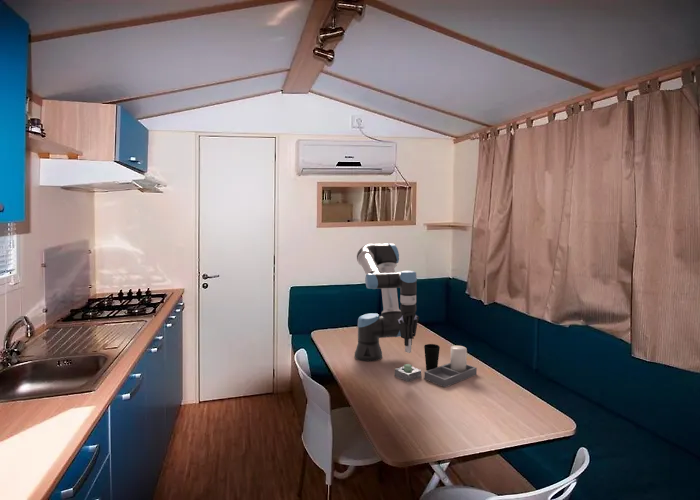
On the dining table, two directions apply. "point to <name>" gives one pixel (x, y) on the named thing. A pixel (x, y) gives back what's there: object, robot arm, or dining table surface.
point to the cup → (431, 356)
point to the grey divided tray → (448, 375)
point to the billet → (458, 358)
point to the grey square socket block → (407, 374)
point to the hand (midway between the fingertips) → (408, 351)
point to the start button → (407, 367)
